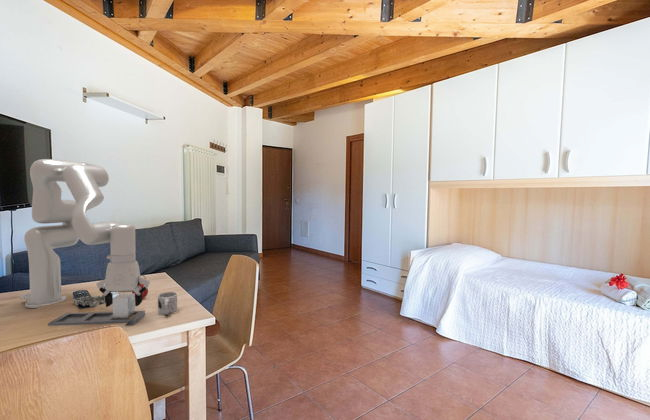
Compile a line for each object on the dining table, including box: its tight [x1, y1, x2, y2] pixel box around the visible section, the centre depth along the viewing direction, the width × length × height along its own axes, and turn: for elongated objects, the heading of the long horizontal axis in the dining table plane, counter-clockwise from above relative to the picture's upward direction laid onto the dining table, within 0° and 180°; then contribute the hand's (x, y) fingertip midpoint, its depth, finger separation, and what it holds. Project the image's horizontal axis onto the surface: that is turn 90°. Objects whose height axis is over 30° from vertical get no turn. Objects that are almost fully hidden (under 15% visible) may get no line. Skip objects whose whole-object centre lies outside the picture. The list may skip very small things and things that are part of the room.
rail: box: [47, 310, 146, 327], centre depth 112 cm, size 27×9×2 cm, turn 98°
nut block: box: [112, 292, 136, 320], centre depth 113 cm, size 5×5×8 cm
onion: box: [131, 283, 149, 300], centre depth 133 cm, size 6×6×8 cm
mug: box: [157, 291, 178, 316], centre depth 120 cm, size 10×7×7 cm, turn 22°
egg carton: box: [72, 294, 105, 307], centre depth 127 cm, size 11×8×4 cm
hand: (123, 305), depth 113 cm, fingers open, 9 cm apart
